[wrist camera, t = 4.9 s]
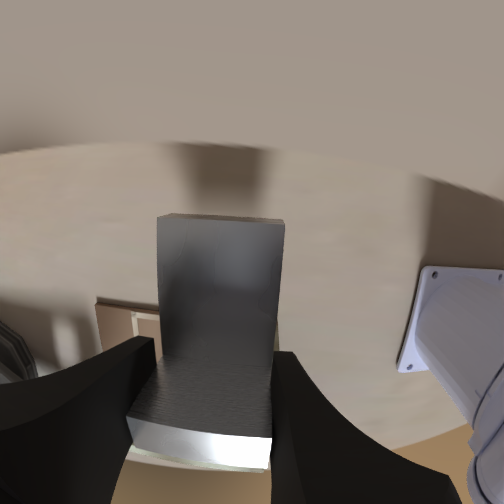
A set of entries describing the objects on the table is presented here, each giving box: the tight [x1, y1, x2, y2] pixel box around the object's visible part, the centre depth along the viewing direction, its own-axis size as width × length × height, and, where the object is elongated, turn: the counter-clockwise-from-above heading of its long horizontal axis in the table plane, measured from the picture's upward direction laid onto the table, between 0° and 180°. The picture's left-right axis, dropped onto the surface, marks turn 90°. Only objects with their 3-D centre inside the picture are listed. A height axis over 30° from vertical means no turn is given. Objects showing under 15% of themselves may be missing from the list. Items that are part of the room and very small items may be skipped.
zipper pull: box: [0, 321, 38, 384], centre depth 18 cm, size 9×7×25 cm
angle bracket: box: [126, 213, 285, 468], centre depth 8 cm, size 6×4×5 cm, turn 177°
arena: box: [95, 302, 279, 473], centre depth 17 cm, size 12×11×4 cm
